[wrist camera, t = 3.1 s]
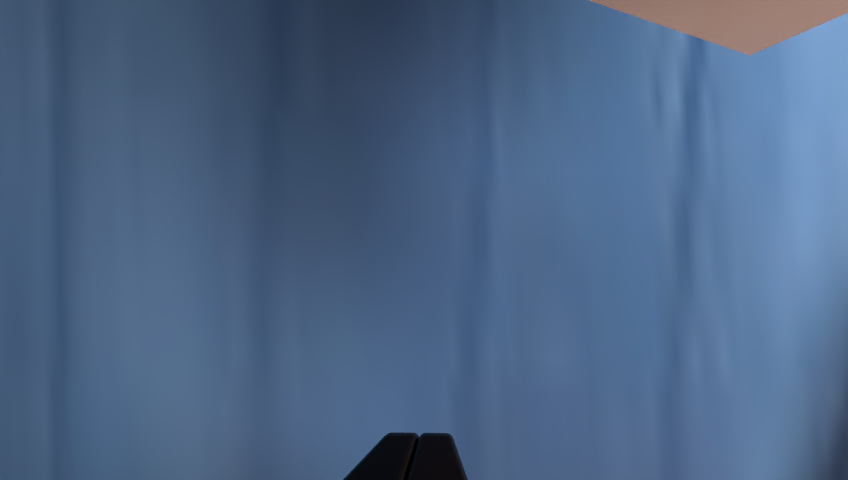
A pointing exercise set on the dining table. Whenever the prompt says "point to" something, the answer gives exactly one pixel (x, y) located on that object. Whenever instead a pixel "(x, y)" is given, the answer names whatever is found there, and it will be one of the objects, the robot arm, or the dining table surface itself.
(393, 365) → the dining table surface
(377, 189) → the dining table surface
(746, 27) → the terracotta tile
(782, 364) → the dining table surface
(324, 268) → the dining table surface
